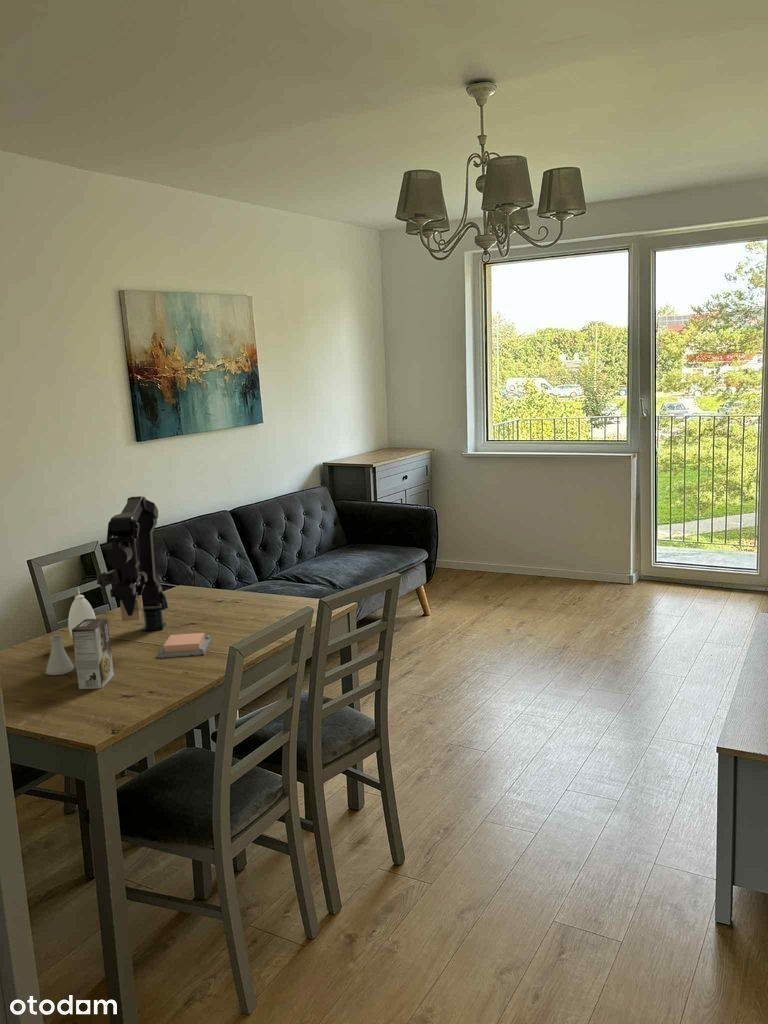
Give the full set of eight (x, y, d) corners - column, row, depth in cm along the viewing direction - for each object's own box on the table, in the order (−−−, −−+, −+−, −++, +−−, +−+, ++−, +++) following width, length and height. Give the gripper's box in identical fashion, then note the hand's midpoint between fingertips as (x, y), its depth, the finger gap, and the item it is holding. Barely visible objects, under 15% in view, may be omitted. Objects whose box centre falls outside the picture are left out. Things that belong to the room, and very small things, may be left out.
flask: (64, 676, 220) (60, 641, 219) (40, 676, 222) (36, 640, 220) (79, 667, 227) (75, 632, 226) (55, 666, 229) (51, 632, 227)
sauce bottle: (87, 649, 242) (80, 590, 240) (65, 648, 245) (58, 590, 242) (104, 641, 250) (97, 584, 247) (83, 640, 252) (76, 583, 249)
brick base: (167, 643, 244) (166, 633, 244) (211, 640, 245) (210, 630, 244) (158, 658, 231) (157, 647, 231) (204, 654, 232) (203, 644, 232)
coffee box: (91, 676, 219) (84, 618, 217) (115, 675, 219) (108, 617, 216) (77, 689, 210) (70, 629, 208) (102, 688, 210) (95, 628, 207)
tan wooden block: (126, 616, 238) (124, 596, 237) (143, 615, 238) (141, 595, 237) (122, 621, 233) (119, 600, 232) (139, 620, 233) (137, 599, 232)
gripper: (107, 555, 242) (112, 606, 244) (88, 569, 223) (94, 624, 226) (145, 552, 242) (150, 603, 245) (129, 566, 224) (135, 621, 226)
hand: (132, 612), depth 236 cm, fingers closed on tan wooden block, 5 cm apart
